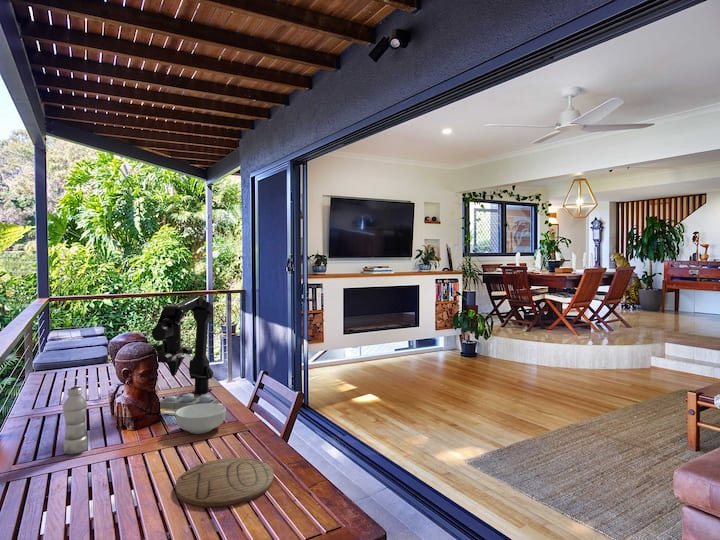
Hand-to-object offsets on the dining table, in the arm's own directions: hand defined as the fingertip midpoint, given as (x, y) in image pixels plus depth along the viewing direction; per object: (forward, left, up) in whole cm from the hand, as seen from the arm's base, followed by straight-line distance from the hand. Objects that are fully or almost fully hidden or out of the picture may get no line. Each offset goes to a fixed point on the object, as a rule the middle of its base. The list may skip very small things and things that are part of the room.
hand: (173, 375), depth 187 cm
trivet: (+55, +50, -14) cm, 76 cm away
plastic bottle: (+45, -5, -13) cm, 47 cm away
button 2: (0, +6, -10) cm, 12 cm away
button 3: (0, +14, -11) cm, 17 cm away
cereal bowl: (+20, +23, -13) cm, 33 cm away
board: (+1, +6, -13) cm, 14 cm away
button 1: (0, -1, -12) cm, 12 cm away
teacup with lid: (-9, -19, -13) cm, 25 cm away
